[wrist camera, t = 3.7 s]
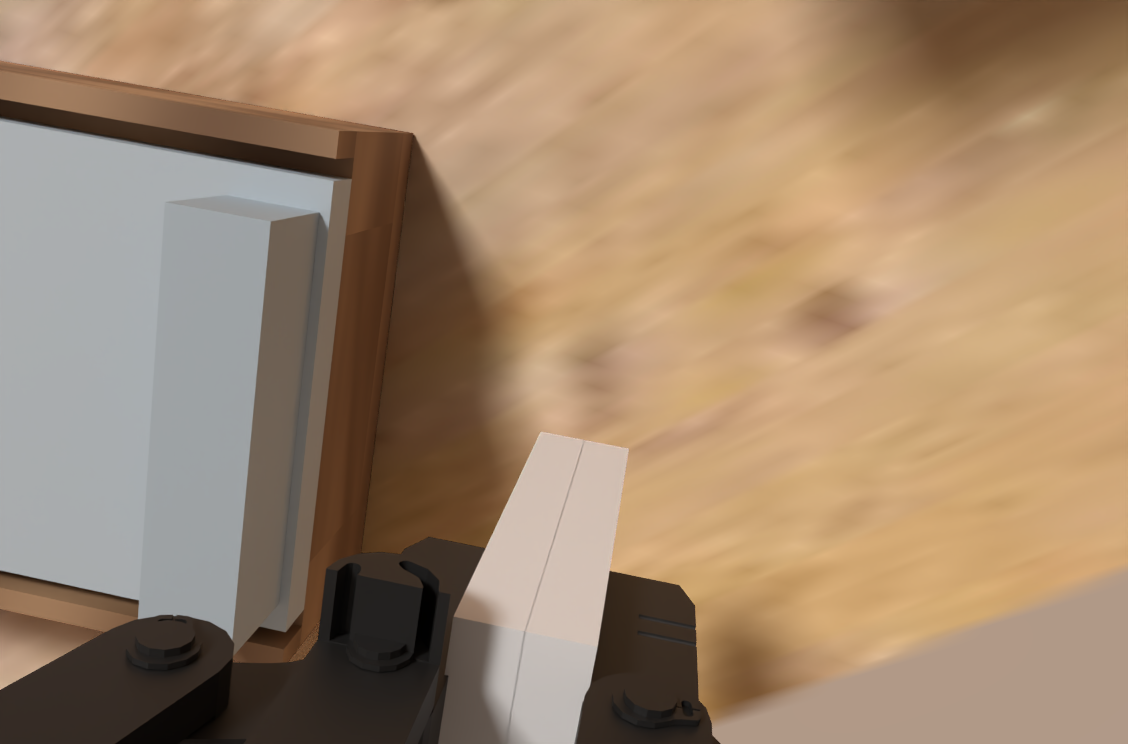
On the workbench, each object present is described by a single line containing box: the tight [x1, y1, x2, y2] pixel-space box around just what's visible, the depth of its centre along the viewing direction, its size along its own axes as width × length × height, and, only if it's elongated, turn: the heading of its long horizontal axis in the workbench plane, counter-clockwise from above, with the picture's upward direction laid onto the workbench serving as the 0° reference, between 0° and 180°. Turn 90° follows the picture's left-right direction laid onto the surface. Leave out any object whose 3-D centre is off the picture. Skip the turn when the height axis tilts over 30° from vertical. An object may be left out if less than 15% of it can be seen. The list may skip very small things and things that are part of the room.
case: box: [0, 61, 413, 663], centre depth 22 cm, size 16×11×5 cm
